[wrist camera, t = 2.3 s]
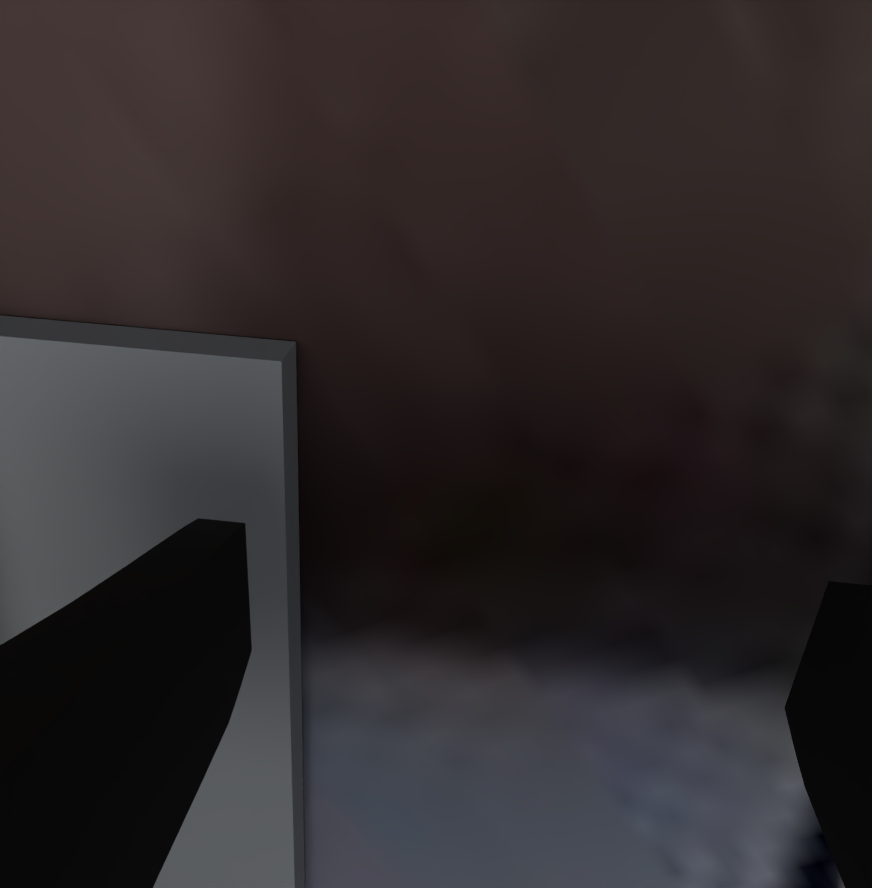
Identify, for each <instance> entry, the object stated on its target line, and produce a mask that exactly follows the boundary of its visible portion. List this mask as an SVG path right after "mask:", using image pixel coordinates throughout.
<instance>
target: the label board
mask: <svg viewBox="0 0 872 888" xmlns="http://www.w3.org/2000/svg"><path fill="white" fill-rule="evenodd" d="M198 518H201V519H211V520H221V521H231V522H241V523H245V526H246V546H247V565H248V585H249V604H250V623H251V643H252V651H251V655H250V658H249V661H248V665H247V668H246V671H245V674H244V678H243V681H242V684H241V688H240V691H239V694H238V697H237V700H236V703H235V706H234V709H233V712H232V715H231V718H230V721H229V724H228V726H227V728H226V730H225V733H224V735H223V737H222V739H221V742H220V744H219V746H218V748H217V750H216V752H215V755H214V757H213V759H212V761H211V763H210V766H209V768H208V770H207V772H206V774H205V777H204V779H203V781H202V783H201V785H200V787H199V790H198V792H197V794H196V796H195V798H194V800H193V803H192V805H191V807H190V809H189V811H188V813H187V815H186V818H185V820H184V822H183V824H182V826H181V828H180V831H179V833H178V835H177V837H176V839H175V841H174V843H173V846H172V848H171V850H170V852H169V854H168V856H167V859H166V861H165V863H164V865H163V867H162V869H161V871H160V874H159V876H158V878H157V880H156V882H155V884H154V887H153V888H305V865H304V803H303V741H302V679H301V618H300V556H299V494H298V433H297V371H296V342H294V341H283V340H271V339H260V338H249V337H238V336H226V335H215V334H204V333H193V332H181V331H170V330H159V329H148V328H137V327H125V326H114V325H103V324H92V323H80V322H69V321H58V320H47V319H35V318H24V317H13V316H2V315H0V645H1V644H3V643H5V642H6V641H8V640H10V639H11V638H13V637H15V636H16V635H18V634H20V633H21V632H23V631H25V630H26V629H28V628H30V627H31V626H33V625H35V624H36V623H38V622H39V621H41V620H43V619H44V618H46V617H48V616H49V615H51V614H53V613H54V612H56V611H58V610H59V609H61V608H63V607H64V606H66V605H68V604H69V603H71V602H72V601H74V600H75V599H77V598H78V597H80V596H82V595H83V594H85V593H86V592H88V591H89V590H91V589H92V588H94V587H95V586H97V585H98V584H100V583H101V582H103V581H104V580H106V579H107V578H109V577H110V576H112V575H113V574H115V573H116V572H118V571H119V570H121V569H122V568H124V567H125V566H127V565H128V564H130V563H131V562H133V561H134V560H136V559H137V558H138V557H140V556H141V555H143V554H144V553H146V552H147V551H149V550H150V549H152V548H153V547H155V546H156V545H157V544H159V543H160V542H162V541H163V540H165V539H166V538H168V537H169V536H171V535H172V534H174V533H175V532H177V531H178V530H180V529H181V528H183V527H184V526H186V525H188V524H189V523H191V522H193V521H194V520H196V519H198Z"/></svg>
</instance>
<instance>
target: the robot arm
mask: <svg viewBox="0 0 872 888" xmlns="http://www.w3.org/2000/svg"><path fill="white" fill-rule="evenodd" d="M251 651H252V643H251V623H250V604H249V585H248V565H247V546H246V526H245V523H241V522H231V521H221V520H211V519H201V518H198V519H196V520H194V521H193V522H191V523H189V524H188V525H186V526H184V527H183V528H181V529H180V530H178V531H177V532H175V533H174V534H172V535H171V536H169V537H168V538H166V539H165V540H163V541H162V542H160V543H159V544H157V545H156V546H155V547H153V548H152V549H150V550H149V551H147V552H146V553H144V554H143V555H141V556H140V557H138V558H137V559H136V560H134V561H133V562H131V563H130V564H128V565H127V566H125V567H124V568H122V569H121V570H119V571H118V572H116V573H115V574H113V575H112V576H110V577H109V578H107V579H106V580H104V581H103V582H101V583H100V584H98V585H97V586H95V587H94V588H92V589H91V590H89V591H88V592H86V593H85V594H83V595H82V596H80V597H78V598H77V599H75V600H74V601H72V602H71V603H69V604H68V605H66V606H64V607H63V608H61V609H59V610H58V611H56V612H54V613H53V614H51V615H49V616H48V617H46V618H44V619H43V620H41V621H39V622H38V623H36V624H35V625H33V626H31V627H30V628H28V629H26V630H25V631H23V632H21V633H20V634H18V635H16V636H15V637H13V638H11V639H10V640H8V641H6V642H5V643H3V644H1V645H0V888H153V887H154V884H155V882H156V880H157V878H158V876H159V874H160V871H161V869H162V867H163V865H164V863H165V861H166V859H167V856H168V854H169V852H170V850H171V848H172V846H173V843H174V841H175V839H176V837H177V835H178V833H179V831H180V828H181V826H182V824H183V822H184V820H185V818H186V815H187V813H188V811H189V809H190V807H191V805H192V803H193V800H194V798H195V796H196V794H197V792H198V790H199V787H200V785H201V783H202V781H203V779H204V777H205V774H206V772H207V770H208V768H209V766H210V763H211V761H212V759H213V757H214V755H215V752H216V750H217V748H218V746H219V744H220V742H221V739H222V737H223V735H224V733H225V730H226V728H227V726H228V724H229V721H230V718H231V715H232V712H233V709H234V706H235V703H236V700H237V697H238V694H239V691H240V688H241V684H242V681H243V678H244V674H245V671H246V668H247V665H248V661H249V658H250V655H251ZM785 711H786V715H787V719H788V724H789V728H790V732H791V736H792V740H793V744H794V749H795V752H796V756H797V760H798V763H799V767H800V771H801V774H802V778H803V782H804V785H805V788H806V791H807V793H808V796H809V798H810V801H811V804H812V806H813V809H814V811H815V814H816V816H817V819H818V821H819V824H820V826H821V829H822V831H823V834H824V836H825V839H826V841H827V844H828V846H829V849H830V851H831V854H832V856H833V859H834V861H835V864H836V866H837V869H838V871H839V873H840V876H841V878H842V881H843V883H844V886H845V888H872V586H870V585H860V584H850V583H840V582H830V581H829V582H828V585H827V588H826V591H825V594H824V597H823V599H822V602H821V605H820V608H819V611H818V614H817V616H816V619H815V622H814V625H813V628H812V631H811V634H810V636H809V639H808V642H807V645H806V648H805V651H804V654H803V656H802V659H801V662H800V665H799V668H798V671H797V674H796V676H795V679H794V682H793V685H792V688H791V691H790V694H789V696H788V699H787V702H786V705H785Z"/></svg>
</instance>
